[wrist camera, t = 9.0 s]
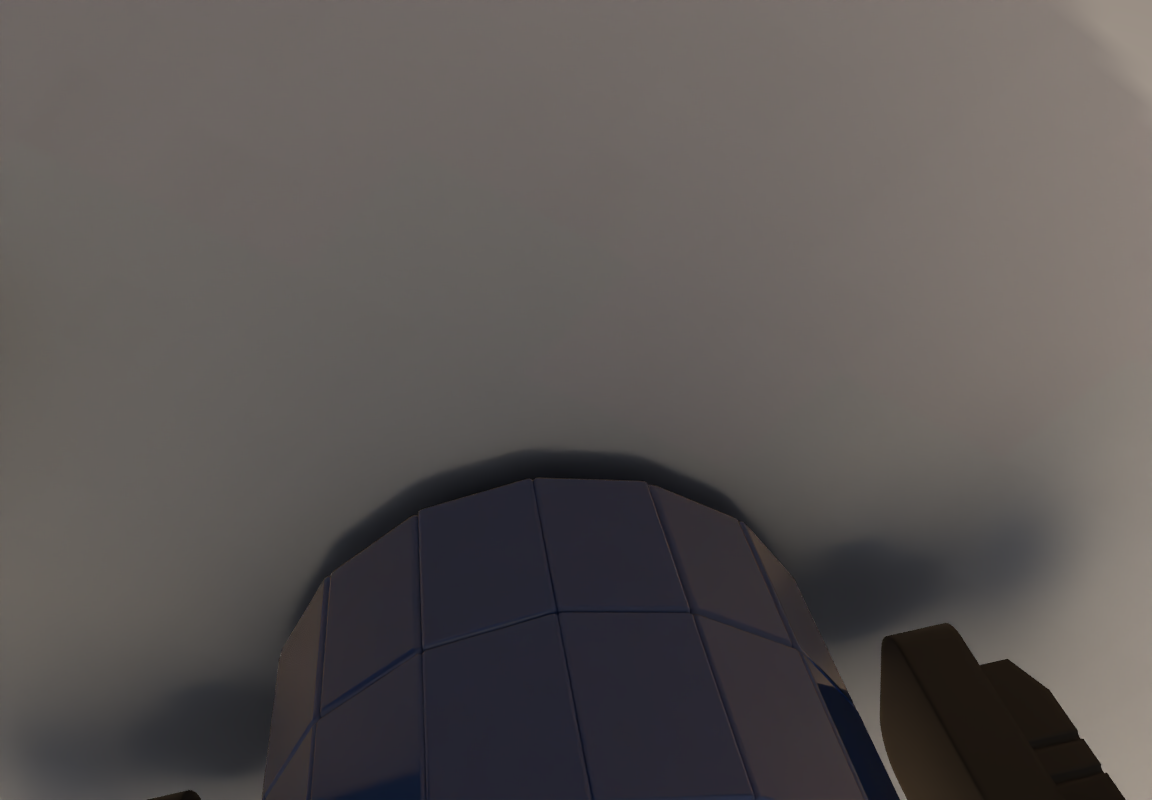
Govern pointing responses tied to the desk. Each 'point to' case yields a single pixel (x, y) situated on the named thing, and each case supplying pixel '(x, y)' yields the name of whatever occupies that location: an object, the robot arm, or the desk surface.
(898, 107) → the desk surface
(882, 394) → the desk surface
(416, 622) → the bowl
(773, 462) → the desk surface
